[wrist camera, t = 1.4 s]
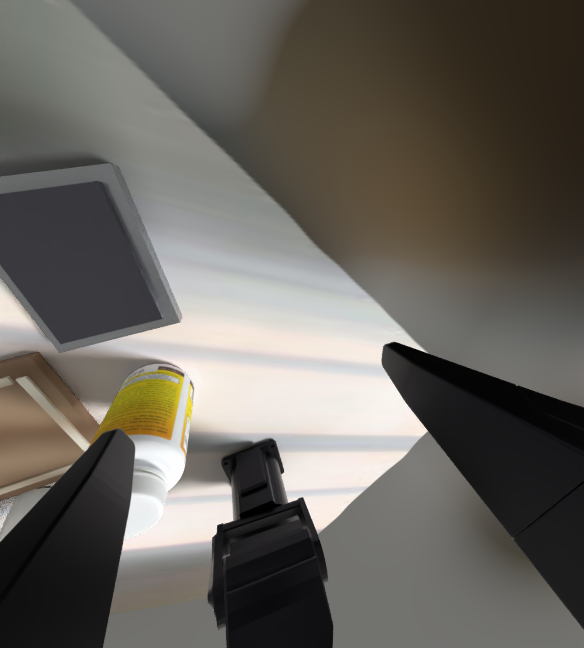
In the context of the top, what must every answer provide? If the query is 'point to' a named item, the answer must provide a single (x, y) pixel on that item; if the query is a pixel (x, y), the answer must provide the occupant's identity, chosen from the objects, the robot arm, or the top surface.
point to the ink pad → (81, 256)
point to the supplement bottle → (152, 436)
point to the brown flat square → (38, 425)
